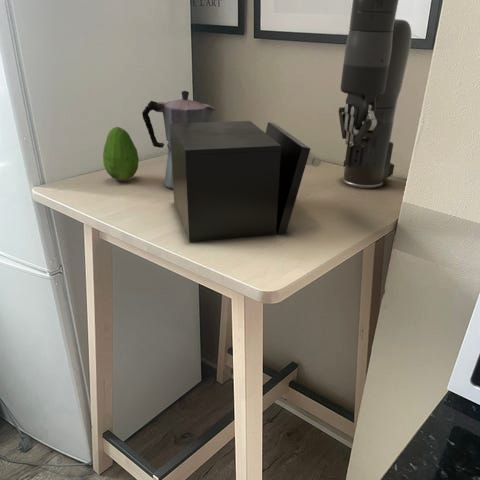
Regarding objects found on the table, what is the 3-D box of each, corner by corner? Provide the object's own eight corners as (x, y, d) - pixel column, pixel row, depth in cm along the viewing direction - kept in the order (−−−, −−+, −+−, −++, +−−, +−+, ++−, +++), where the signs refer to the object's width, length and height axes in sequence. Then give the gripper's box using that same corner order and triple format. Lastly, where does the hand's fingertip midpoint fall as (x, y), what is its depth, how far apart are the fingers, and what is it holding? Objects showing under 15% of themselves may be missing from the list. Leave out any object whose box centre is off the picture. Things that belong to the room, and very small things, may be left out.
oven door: (272, 201, 109) (292, 127, 101) (304, 237, 92) (330, 152, 85) (249, 197, 107) (267, 121, 99) (277, 233, 91) (302, 146, 83)
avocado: (123, 187, 112) (117, 132, 105) (99, 181, 116) (91, 127, 109) (147, 179, 118) (143, 125, 111) (123, 173, 121) (117, 121, 115)
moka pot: (220, 189, 112) (219, 93, 101) (152, 195, 108) (143, 95, 97) (210, 177, 119) (209, 86, 108) (146, 182, 116) (137, 88, 105)
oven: (248, 199, 107) (250, 120, 98) (276, 235, 91) (281, 145, 82) (174, 204, 104) (169, 123, 95) (189, 243, 87) (185, 150, 79)
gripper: (406, 66, 78) (386, 175, 88) (369, 58, 89) (355, 156, 99) (362, 66, 77) (347, 177, 86) (330, 58, 88) (319, 158, 97)
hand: (351, 166), depth 92 cm, fingers closed
